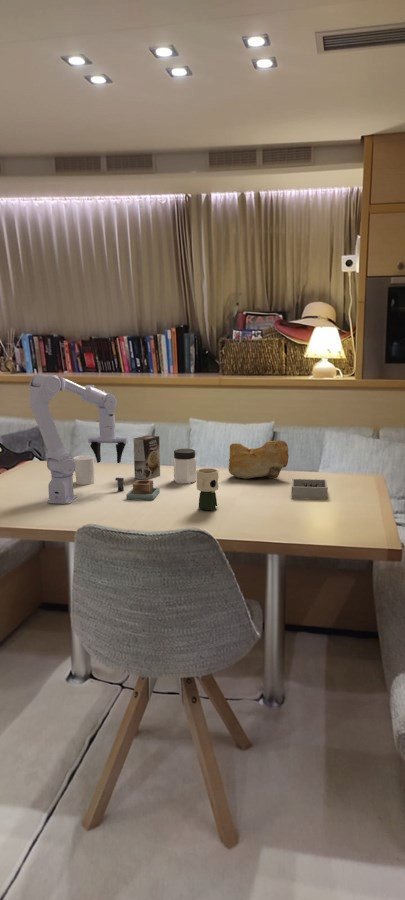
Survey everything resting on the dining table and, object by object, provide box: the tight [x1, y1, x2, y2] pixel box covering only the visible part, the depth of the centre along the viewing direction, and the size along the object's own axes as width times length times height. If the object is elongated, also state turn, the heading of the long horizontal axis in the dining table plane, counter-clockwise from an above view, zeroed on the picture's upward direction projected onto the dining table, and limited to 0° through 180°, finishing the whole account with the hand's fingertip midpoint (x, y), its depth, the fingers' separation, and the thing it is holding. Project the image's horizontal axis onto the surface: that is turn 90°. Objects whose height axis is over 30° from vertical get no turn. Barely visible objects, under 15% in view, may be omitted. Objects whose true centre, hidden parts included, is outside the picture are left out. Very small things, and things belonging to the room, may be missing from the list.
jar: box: [173, 448, 197, 484], centre depth 239 cm, size 9×8×12 cm
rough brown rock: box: [228, 440, 290, 479], centre depth 245 cm, size 23×17×15 cm
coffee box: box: [133, 434, 161, 480], centre depth 246 cm, size 9×6×16 cm
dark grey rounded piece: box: [114, 477, 125, 493], centre depth 227 cm, size 2×3×5 cm
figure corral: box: [290, 478, 329, 500], centre depth 219 cm, size 11×12×4 cm
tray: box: [126, 487, 161, 501], centre depth 220 cm, size 10×10×2 cm
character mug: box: [196, 467, 219, 511], centre depth 203 cm, size 11×7×13 cm, turn 153°
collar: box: [132, 479, 154, 494], centre depth 220 cm, size 6×6×4 cm
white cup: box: [73, 454, 95, 486], centre depth 239 cm, size 8×8×10 cm
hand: (108, 462), depth 229 cm, fingers open, 7 cm apart
